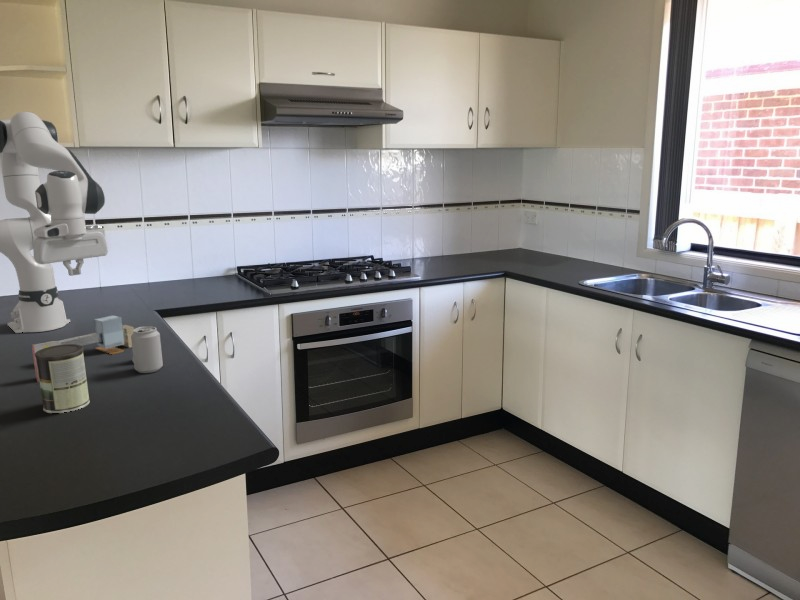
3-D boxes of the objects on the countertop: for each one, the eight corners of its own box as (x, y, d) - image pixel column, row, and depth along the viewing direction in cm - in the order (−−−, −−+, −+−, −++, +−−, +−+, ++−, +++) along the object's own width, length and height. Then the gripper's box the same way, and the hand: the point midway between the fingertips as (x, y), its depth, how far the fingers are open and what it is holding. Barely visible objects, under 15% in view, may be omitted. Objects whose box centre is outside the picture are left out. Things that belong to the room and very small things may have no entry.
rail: (44, 361, 196) (41, 341, 195) (123, 342, 215) (121, 323, 214) (59, 367, 190) (57, 346, 189) (140, 347, 209) (138, 328, 207)
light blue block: (97, 345, 206) (93, 319, 204) (115, 341, 210) (112, 315, 208) (105, 348, 202) (102, 321, 200) (124, 344, 207) (121, 317, 205)
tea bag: (36, 378, 181) (31, 343, 179) (63, 373, 185) (58, 339, 183) (37, 382, 178) (32, 346, 176) (65, 377, 182) (60, 342, 180)
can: (134, 367, 189) (129, 327, 186) (162, 364, 191) (158, 324, 189) (135, 375, 182) (130, 333, 179) (164, 371, 185) (159, 330, 182)
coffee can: (34, 414, 156) (25, 356, 153) (57, 398, 166) (49, 344, 163) (77, 413, 156) (69, 356, 152) (97, 397, 166) (91, 343, 162)
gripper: (98, 224, 202) (103, 268, 205) (27, 230, 187) (34, 279, 190) (108, 225, 198) (114, 270, 201) (37, 232, 183) (44, 281, 186)
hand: (74, 274), depth 195 cm, fingers closed
